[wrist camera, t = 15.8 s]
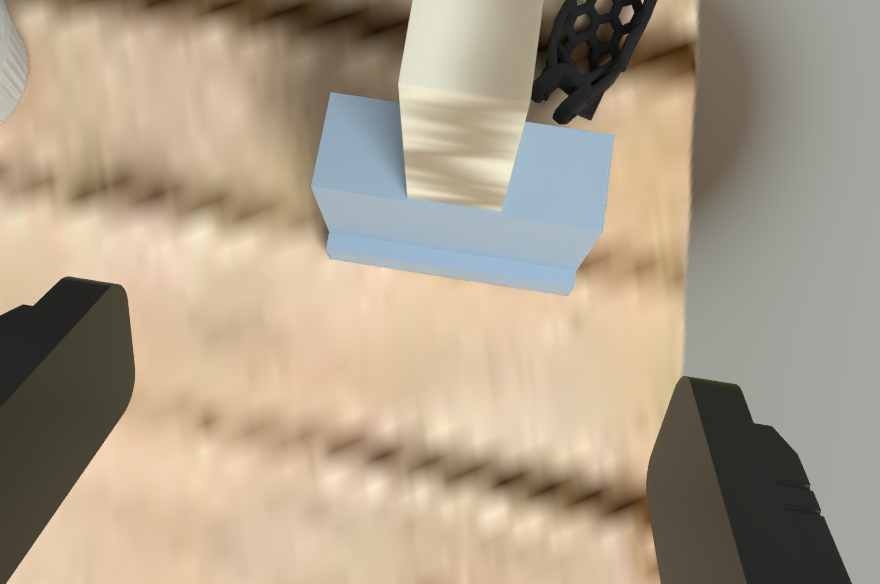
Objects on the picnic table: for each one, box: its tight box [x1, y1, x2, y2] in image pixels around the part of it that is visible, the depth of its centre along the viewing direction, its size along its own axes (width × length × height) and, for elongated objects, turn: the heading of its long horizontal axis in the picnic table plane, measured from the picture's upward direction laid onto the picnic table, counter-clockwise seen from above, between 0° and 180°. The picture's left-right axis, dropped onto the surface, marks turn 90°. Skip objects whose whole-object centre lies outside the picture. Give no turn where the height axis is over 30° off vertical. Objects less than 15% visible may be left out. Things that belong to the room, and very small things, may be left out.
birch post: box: [398, 0, 544, 211], centre depth 32 cm, size 4×4×11 cm
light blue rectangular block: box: [311, 92, 614, 296], centre depth 42 cm, size 14×7×9 cm, turn 81°
